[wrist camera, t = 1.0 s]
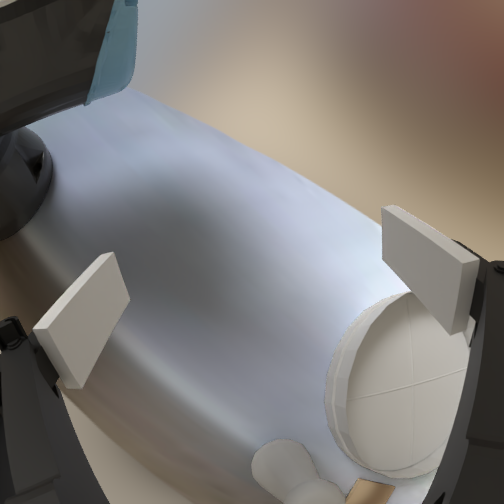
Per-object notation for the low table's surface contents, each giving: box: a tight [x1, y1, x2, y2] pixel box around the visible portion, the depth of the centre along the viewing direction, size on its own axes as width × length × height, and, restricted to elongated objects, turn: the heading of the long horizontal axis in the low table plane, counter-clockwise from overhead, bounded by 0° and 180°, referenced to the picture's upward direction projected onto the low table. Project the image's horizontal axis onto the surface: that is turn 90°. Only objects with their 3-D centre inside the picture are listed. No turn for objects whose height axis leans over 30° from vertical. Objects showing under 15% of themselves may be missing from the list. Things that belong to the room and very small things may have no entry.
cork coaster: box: [345, 478, 395, 504], centre depth 26 cm, size 6×6×1 cm
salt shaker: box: [251, 439, 346, 504], centre depth 21 cm, size 6×6×13 cm
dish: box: [324, 291, 476, 479], centre depth 29 cm, size 22×22×5 cm
